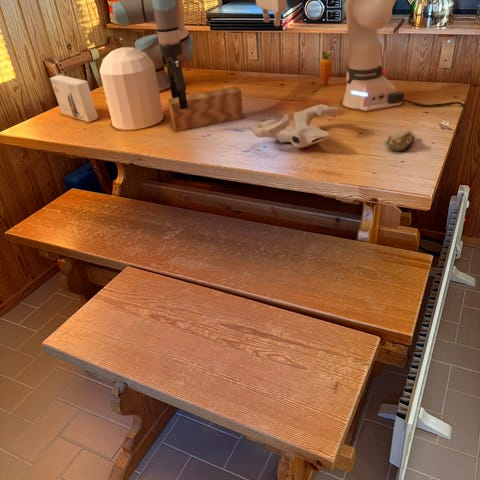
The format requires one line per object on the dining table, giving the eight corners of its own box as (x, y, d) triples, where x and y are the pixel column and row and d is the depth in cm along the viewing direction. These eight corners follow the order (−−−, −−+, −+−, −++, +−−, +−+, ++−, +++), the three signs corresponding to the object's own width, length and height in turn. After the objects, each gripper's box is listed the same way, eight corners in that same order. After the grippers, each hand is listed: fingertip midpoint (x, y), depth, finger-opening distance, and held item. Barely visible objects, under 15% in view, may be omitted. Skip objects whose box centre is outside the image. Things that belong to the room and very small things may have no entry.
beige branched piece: (248, 155, 150) (245, 120, 144) (261, 127, 172) (259, 95, 165) (336, 156, 144) (338, 119, 138) (338, 126, 166) (340, 93, 159)
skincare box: (60, 114, 202) (49, 77, 193) (71, 110, 206) (60, 74, 196) (87, 122, 190) (77, 83, 181) (98, 118, 194) (88, 80, 184)
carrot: (331, 83, 206) (332, 48, 198) (329, 87, 202) (330, 51, 194) (320, 83, 208) (321, 48, 199) (318, 87, 204) (319, 51, 195)
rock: (408, 140, 153) (379, 139, 152) (414, 122, 149) (384, 120, 148) (421, 154, 144) (391, 153, 143) (428, 135, 140) (396, 133, 139)
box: (176, 131, 175) (171, 103, 169) (172, 126, 180) (168, 99, 174) (243, 117, 181) (241, 90, 175) (238, 112, 186) (236, 86, 180)
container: (119, 134, 177) (100, 57, 161) (107, 118, 193) (89, 47, 177) (170, 121, 183) (157, 47, 167) (155, 107, 199) (142, 38, 184)
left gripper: (189, 47, 152) (197, 111, 163) (173, 36, 171) (182, 93, 183) (166, 51, 150) (177, 115, 162) (153, 39, 170) (163, 96, 182)
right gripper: (291, -20, 149) (292, 26, 157) (267, -24, 165) (269, 18, 173) (273, -17, 148) (274, 29, 155) (251, -22, 164) (253, 21, 172)
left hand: (179, 103), depth 173 cm, fingers open, 13 cm apart
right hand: (271, 23), depth 164 cm, fingers open, 8 cm apart
